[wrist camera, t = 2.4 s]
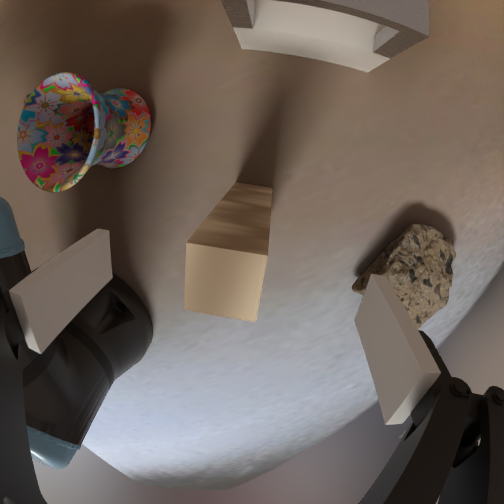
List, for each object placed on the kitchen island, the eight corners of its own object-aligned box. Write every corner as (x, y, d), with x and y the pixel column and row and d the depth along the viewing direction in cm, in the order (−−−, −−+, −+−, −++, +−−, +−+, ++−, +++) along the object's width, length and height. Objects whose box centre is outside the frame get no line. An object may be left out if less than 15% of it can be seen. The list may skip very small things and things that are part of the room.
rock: (460, 265, 28) (478, 282, 24) (394, 327, 32) (405, 349, 28) (417, 201, 26) (438, 214, 22) (341, 277, 30) (350, 299, 26)
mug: (175, 112, 25) (121, 103, 15) (128, 187, 28) (67, 215, 18) (97, 63, 22) (32, 47, 13) (60, 133, 26) (-7, 143, 16)
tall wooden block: (231, 217, 28) (184, 309, 14) (235, 182, 27) (186, 242, 12) (266, 222, 28) (255, 321, 13) (272, 187, 27) (267, 255, 12)
